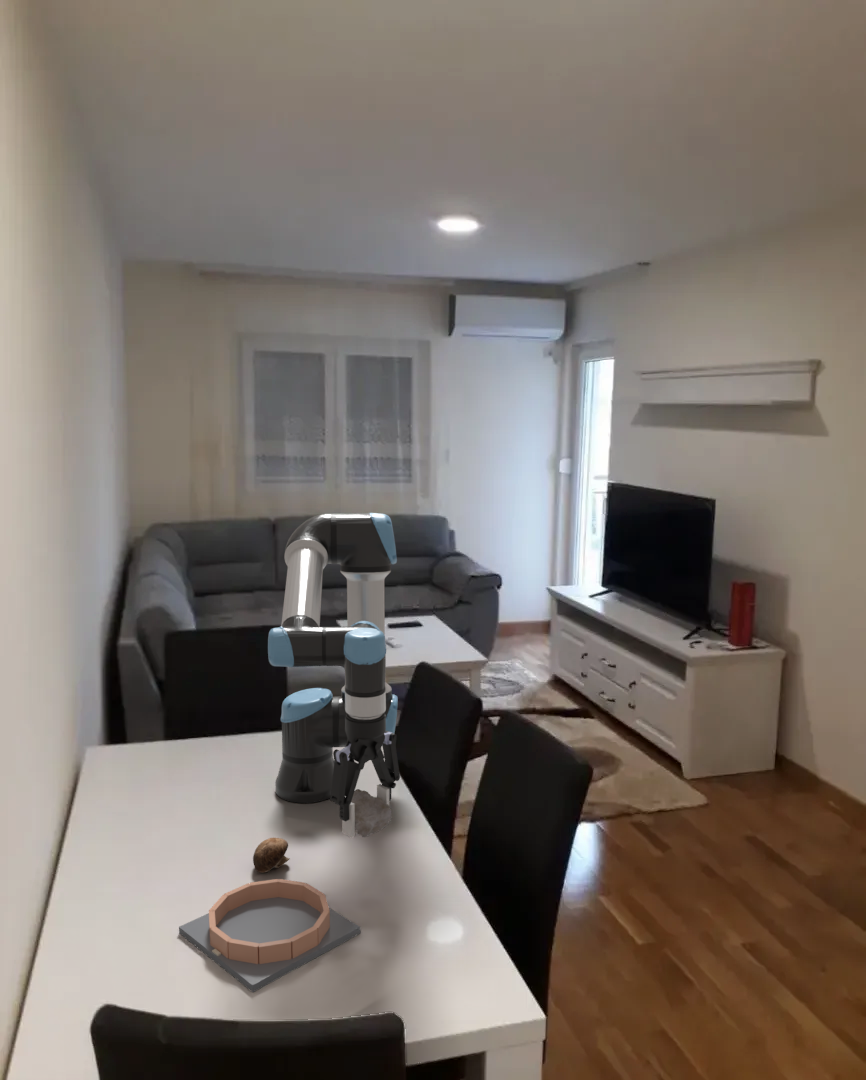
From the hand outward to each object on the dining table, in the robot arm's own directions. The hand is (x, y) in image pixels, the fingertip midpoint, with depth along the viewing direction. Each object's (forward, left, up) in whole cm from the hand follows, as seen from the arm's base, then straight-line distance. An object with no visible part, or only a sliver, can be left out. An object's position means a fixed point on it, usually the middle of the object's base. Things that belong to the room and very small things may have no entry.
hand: (366, 826), depth 172 cm
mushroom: (+10, -17, -11) cm, 23 cm away
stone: (-1, -1, -1) cm, 1 cm away
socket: (+23, +1, -11) cm, 26 cm away
